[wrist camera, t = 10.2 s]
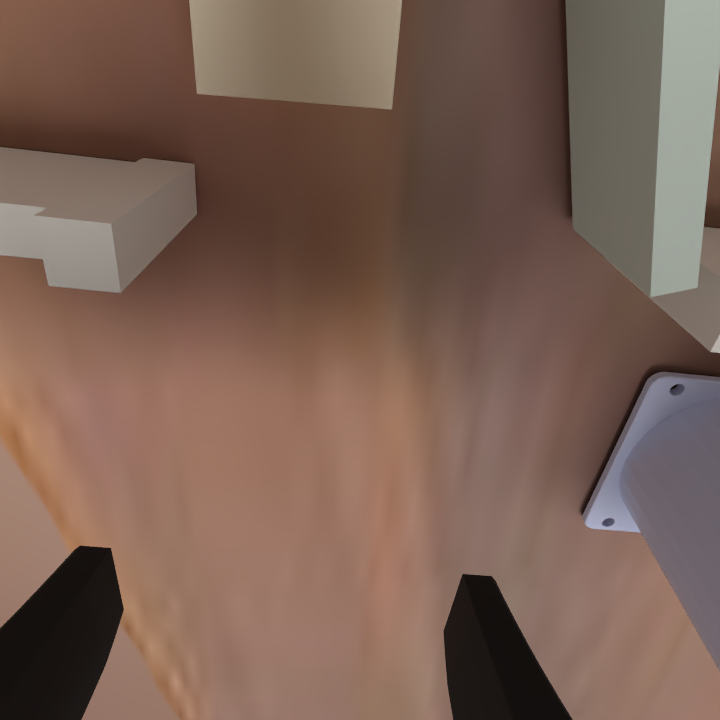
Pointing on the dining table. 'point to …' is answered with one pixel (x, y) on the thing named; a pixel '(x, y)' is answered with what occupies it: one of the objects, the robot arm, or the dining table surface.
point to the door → (643, 132)
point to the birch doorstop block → (297, 50)
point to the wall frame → (171, 214)
